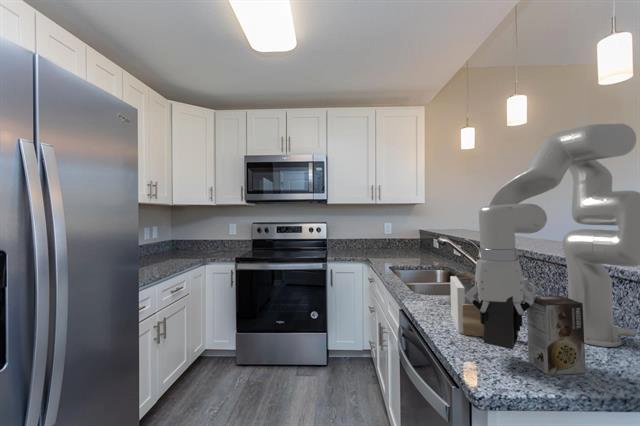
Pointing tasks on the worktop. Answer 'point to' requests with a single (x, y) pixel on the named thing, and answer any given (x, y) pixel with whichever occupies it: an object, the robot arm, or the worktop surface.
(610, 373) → the worktop surface
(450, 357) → the worktop surface
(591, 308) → the robot arm
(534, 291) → the cup
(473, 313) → the door
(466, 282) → the coffee pot
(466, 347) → the worktop surface
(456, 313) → the wall frame
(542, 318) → the coffee box
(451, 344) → the worktop surface
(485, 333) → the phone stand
